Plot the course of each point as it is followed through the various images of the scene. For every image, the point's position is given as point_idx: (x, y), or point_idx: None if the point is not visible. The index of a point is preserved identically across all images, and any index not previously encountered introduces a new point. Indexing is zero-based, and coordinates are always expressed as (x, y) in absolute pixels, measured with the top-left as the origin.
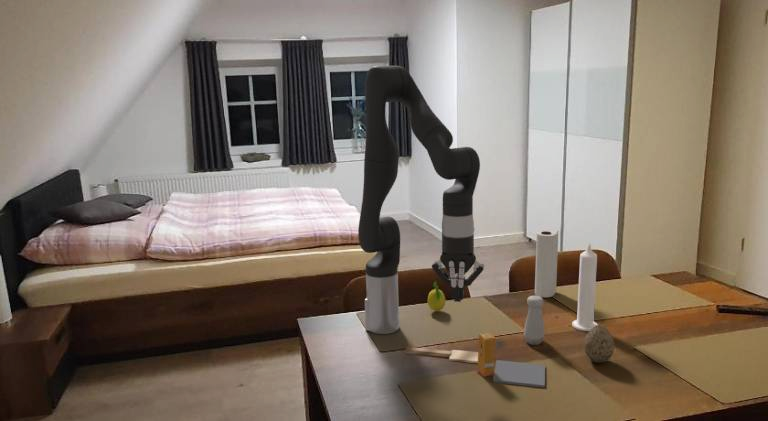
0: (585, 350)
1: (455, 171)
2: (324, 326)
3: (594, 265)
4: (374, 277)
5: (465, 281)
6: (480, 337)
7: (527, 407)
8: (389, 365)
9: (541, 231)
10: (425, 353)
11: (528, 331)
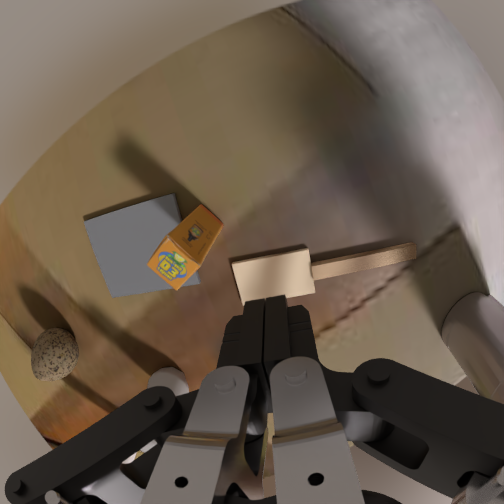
0: (68, 342)
1: None
2: None
3: None
4: None
5: (183, 424)
6: (192, 254)
7: (89, 135)
8: (426, 171)
9: None
10: (370, 252)
11: (169, 384)
